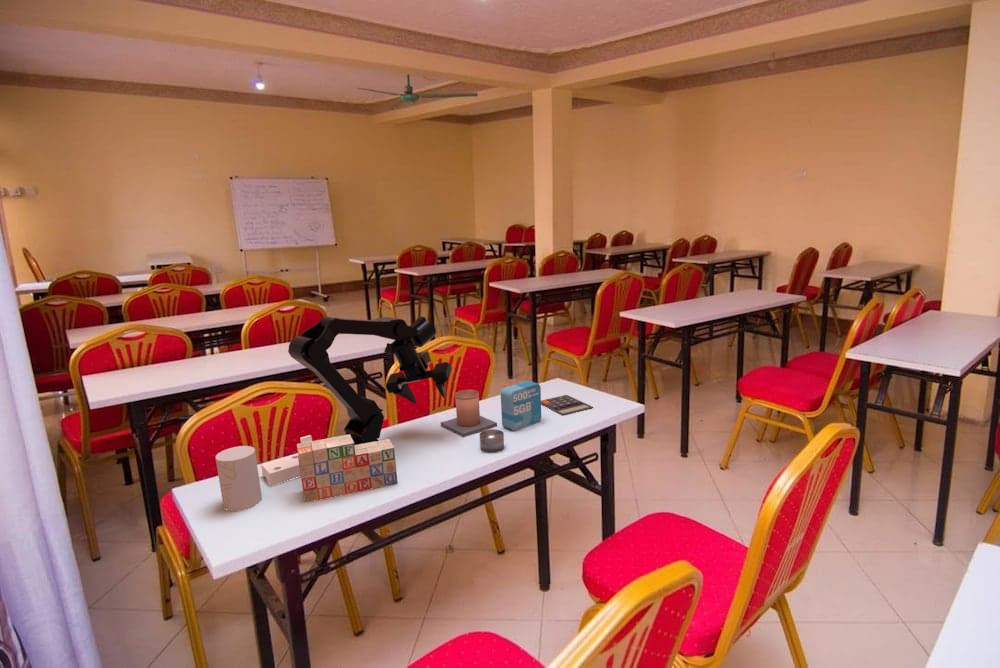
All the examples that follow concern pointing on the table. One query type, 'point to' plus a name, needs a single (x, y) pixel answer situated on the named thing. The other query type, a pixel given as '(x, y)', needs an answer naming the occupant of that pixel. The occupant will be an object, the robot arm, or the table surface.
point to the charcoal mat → (467, 431)
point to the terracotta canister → (467, 408)
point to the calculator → (565, 405)
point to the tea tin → (491, 441)
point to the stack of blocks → (344, 466)
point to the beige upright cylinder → (238, 478)
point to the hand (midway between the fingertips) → (430, 400)
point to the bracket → (283, 467)
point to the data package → (521, 405)
